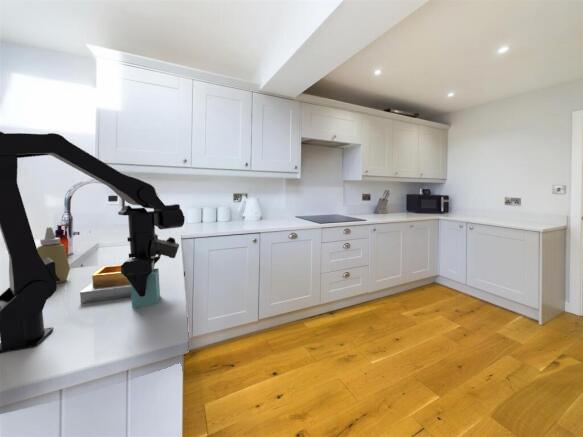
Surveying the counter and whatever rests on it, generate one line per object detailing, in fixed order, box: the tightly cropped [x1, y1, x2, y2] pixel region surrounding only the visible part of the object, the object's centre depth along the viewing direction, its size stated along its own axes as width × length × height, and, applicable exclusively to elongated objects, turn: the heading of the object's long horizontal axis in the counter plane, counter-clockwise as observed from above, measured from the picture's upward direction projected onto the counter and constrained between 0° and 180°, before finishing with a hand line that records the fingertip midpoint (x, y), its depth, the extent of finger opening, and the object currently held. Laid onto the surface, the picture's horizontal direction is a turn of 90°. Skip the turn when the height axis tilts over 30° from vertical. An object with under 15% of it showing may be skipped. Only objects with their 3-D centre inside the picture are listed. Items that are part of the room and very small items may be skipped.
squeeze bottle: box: [36, 226, 71, 284], centre depth 80 cm, size 8×8×18 cm
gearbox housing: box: [79, 264, 132, 304], centre depth 76 cm, size 19×12×6 cm, turn 21°
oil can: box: [130, 268, 161, 308], centre depth 66 cm, size 6×6×11 cm
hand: (145, 289), depth 66 cm, fingers open, 9 cm apart
